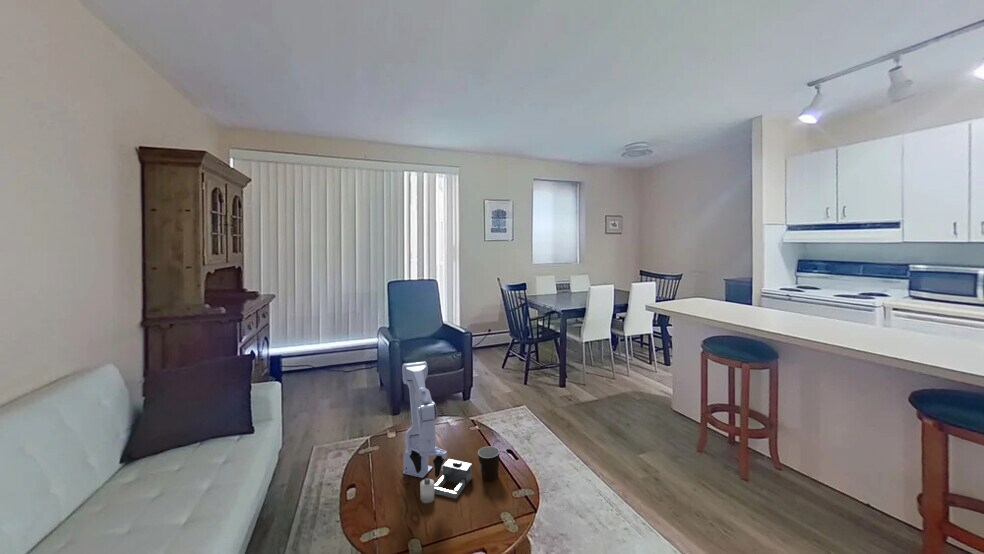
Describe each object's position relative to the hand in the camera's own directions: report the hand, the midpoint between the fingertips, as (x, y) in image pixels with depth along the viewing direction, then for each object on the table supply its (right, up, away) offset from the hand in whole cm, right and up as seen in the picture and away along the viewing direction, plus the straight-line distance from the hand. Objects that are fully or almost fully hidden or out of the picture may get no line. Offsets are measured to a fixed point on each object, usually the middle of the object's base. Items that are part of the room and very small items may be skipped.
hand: (428, 473), depth 141 cm
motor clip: (+7, -9, +9) cm, 14 cm away
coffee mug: (+23, -8, +15) cm, 29 cm away
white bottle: (0, -9, +1) cm, 10 cm away
